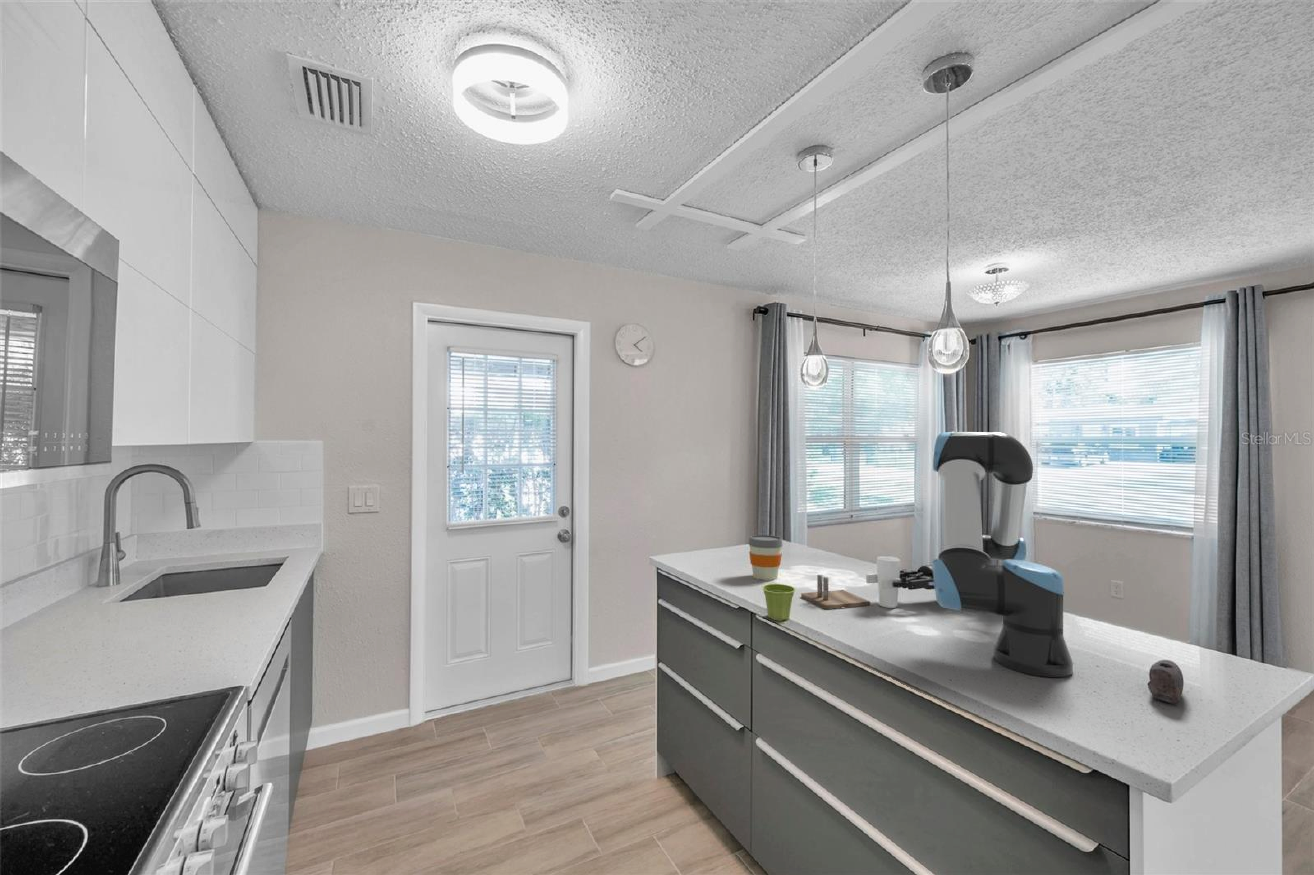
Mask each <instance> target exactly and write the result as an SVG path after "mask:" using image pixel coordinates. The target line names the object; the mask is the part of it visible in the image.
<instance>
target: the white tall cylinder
mask: <svg viewBox="0 0 1314 875" xmlns="http://www.w3.org/2000/svg"><path fill="white" fill-rule="evenodd" d="M900 570H901V559H900V558H898V557H896V556H889V555H885V556H884V555H882V556H881V555H880V556H878V557H877V558H876V574H877V579H878V583H877V588H878V590H877V592H878V604H879V606H881V607H882V608H886V609H895V608H898V598H899V589H900V588H894V589H882V580H887V579H900Z"/></svg>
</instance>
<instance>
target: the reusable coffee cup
mask: <svg viewBox="0 0 1314 875" xmlns="http://www.w3.org/2000/svg"><path fill="white" fill-rule="evenodd" d="M748 545H749V552H748V553H749V560H750V564H751V569H752V578H753V579H755V578H756V579H755V580H759V579H764V580H763V581H773V580H772V579H776V580H777V579H778V577H779V568H780V566H781V564H782V563H781V561H782V547H783V538H782V537H781V536H777V535H771V534H755V535H750V536H749V539H748Z"/></svg>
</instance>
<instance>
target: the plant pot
mask: <svg viewBox="0 0 1314 875" xmlns="http://www.w3.org/2000/svg"><path fill="white" fill-rule="evenodd" d="M761 589H762V590H763V594H764V596H765V597H764V598H765V603H766V611H767V612H766V613H767V617H768V618H770V619H771V620H773V621H779V622H781V621H784V620H786V621H788V620H789V619H790V616H791V608H792V602H793V597H794V594H795V592H796V587H794V586H793V585H788V584H780V583H768V584H764V585H763V586H762V588H761Z"/></svg>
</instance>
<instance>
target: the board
mask: <svg viewBox="0 0 1314 875" xmlns="http://www.w3.org/2000/svg"><path fill="white" fill-rule="evenodd" d="M816 576H817V579H816V580H817V585H816V586H817V588H816V589H817V591H813V592H801V594H800V595H801V598H803V599H804V598H805V600H806V601H809V602H811V603H812V602H813V604H814V603H815V604H814V605H816V606H818V607H820V608H822V607H823V608H822V609H824V608H825V609H824V610H826V609H827V610H834V609H833V608H837V609H843V608H842V607H848V608H858V607H866V606H871V601H870V600H867V599H865V598H863V597H860V596H859V595H855V594H854V593H851V592H850V591H849V592H848V591H847V590H844V589H836V590H835V589H834V590H829V577H827V576H823V575H822V574H817V575H816Z"/></svg>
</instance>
